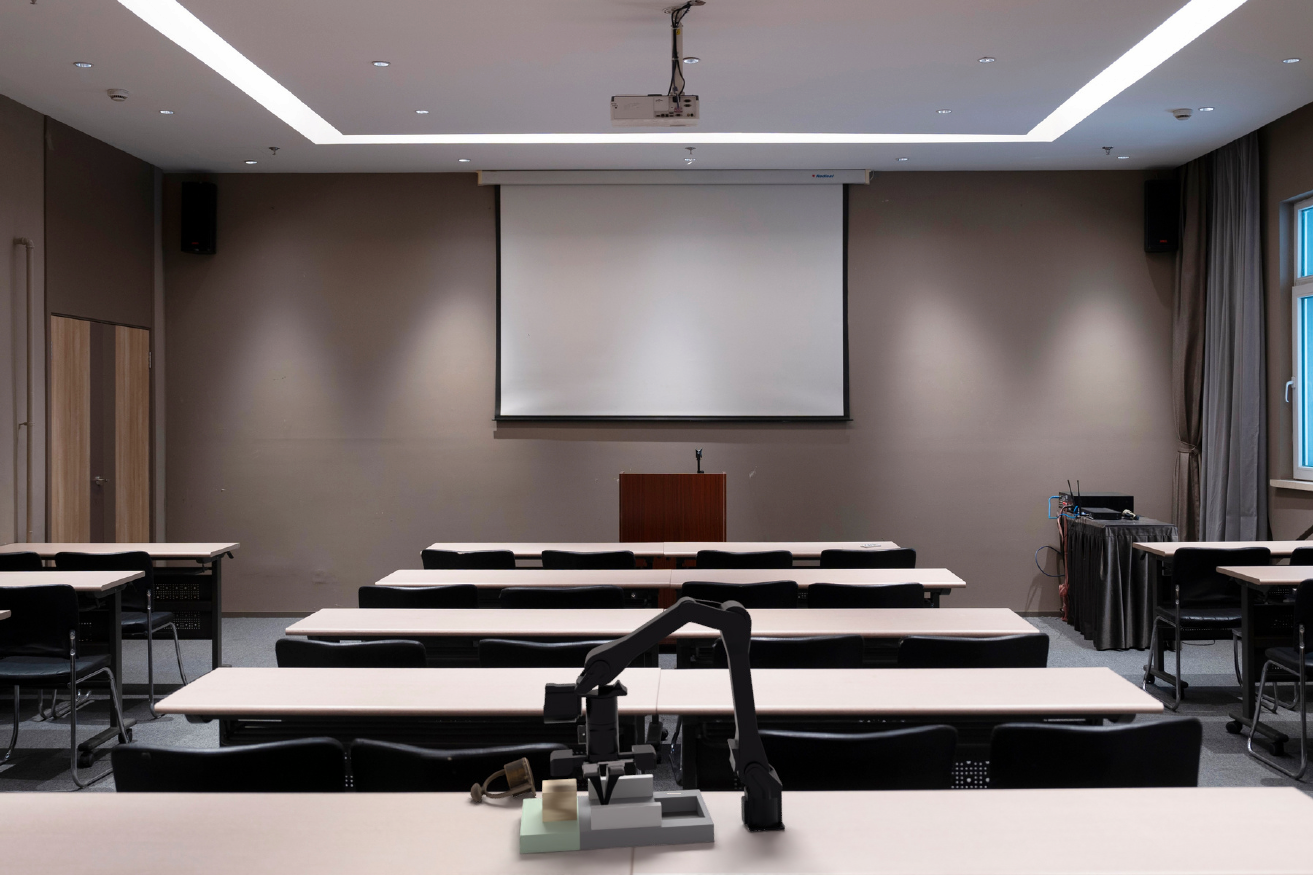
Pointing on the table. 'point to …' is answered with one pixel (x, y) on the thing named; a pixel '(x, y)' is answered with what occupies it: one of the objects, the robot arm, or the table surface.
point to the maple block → (559, 800)
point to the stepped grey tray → (620, 819)
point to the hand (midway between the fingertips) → (604, 808)
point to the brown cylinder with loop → (516, 777)
